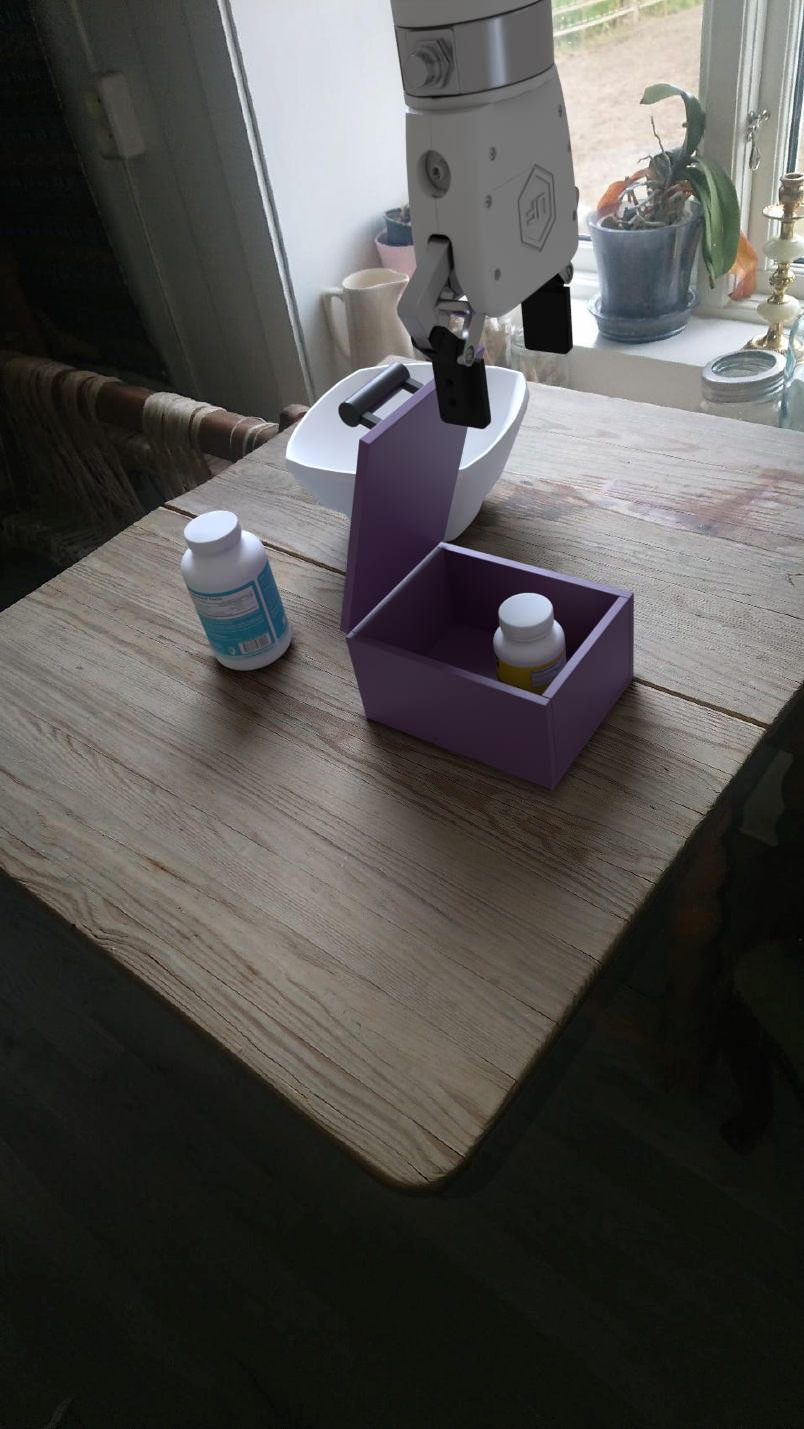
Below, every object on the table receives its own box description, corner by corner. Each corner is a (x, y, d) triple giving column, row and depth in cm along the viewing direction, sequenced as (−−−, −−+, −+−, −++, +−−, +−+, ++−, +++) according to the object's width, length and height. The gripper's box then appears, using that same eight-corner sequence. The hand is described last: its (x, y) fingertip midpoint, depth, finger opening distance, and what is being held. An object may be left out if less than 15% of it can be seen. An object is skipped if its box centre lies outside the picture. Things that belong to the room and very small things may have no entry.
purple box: (633, 677, 80) (634, 592, 74) (552, 790, 72) (545, 706, 66) (453, 621, 88) (441, 541, 82) (365, 717, 81) (344, 637, 75)
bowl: (368, 455, 112) (348, 359, 104) (556, 466, 104) (550, 362, 96) (285, 570, 99) (254, 469, 91) (494, 592, 90) (481, 483, 82)
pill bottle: (252, 613, 94) (210, 493, 85) (309, 634, 90) (272, 510, 81) (199, 660, 90) (149, 539, 81) (256, 684, 87) (212, 560, 77)
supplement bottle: (489, 697, 80) (476, 602, 73) (547, 672, 80) (540, 577, 74) (520, 738, 76) (510, 642, 69) (581, 711, 77) (577, 614, 70)
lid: (485, 347, 67) (424, 315, 68) (369, 444, 60) (303, 407, 61) (444, 539, 82) (394, 510, 83) (347, 635, 75) (295, 602, 76)
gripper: (442, 105, 41) (487, 467, 53) (626, 3, 50) (630, 330, 62) (307, 110, 45) (377, 445, 56) (501, 14, 54) (526, 320, 66)
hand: (509, 385), depth 59 cm, fingers open, 9 cm apart
